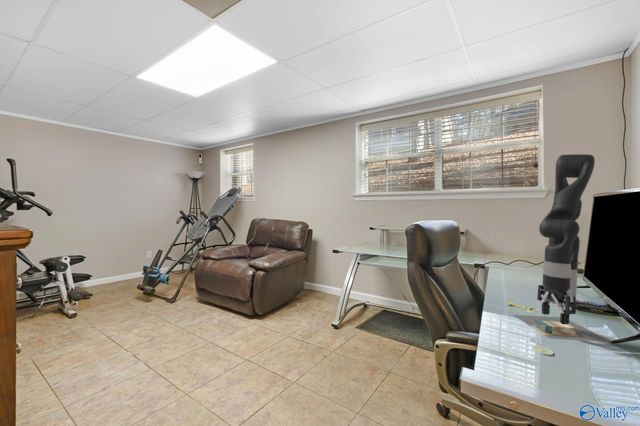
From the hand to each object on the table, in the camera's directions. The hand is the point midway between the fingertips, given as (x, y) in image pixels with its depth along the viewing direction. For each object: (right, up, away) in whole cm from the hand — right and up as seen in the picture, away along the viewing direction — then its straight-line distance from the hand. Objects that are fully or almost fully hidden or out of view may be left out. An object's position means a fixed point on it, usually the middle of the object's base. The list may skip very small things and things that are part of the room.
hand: (554, 318), depth 97 cm
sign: (-13, -6, -9) cm, 17 cm away
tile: (0, -4, 0) cm, 4 cm away
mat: (+4, -5, +4) cm, 7 cm away
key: (+6, -5, +22) cm, 23 cm away
